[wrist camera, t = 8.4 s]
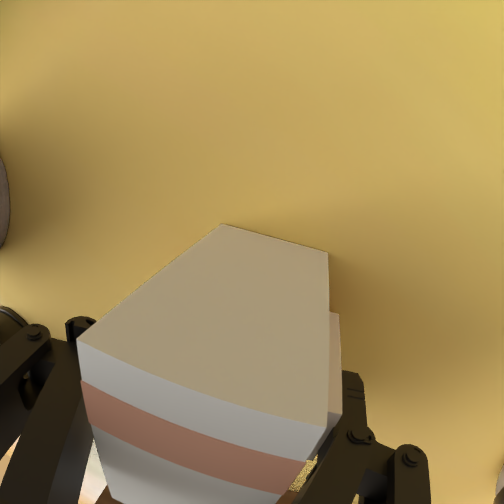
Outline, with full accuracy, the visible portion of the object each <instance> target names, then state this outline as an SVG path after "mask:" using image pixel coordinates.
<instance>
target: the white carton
mask: <svg viewBox="0 0 504 504" xmlns="http://www.w3.org/2000/svg"><path fill="white" fill-rule="evenodd" d="M329 337H330V322H329V268H328V253H327V252H324V251H320V250H317V249H313V248H310V247H306V246H302V245H299V244H295V243H292V242H288V241H284V240H281V239H277V238H273V237H270V236H266V235H262V234H259V233H255V232H251V231H247V230H244V229H240V228H236V227H233V226H229V225H225V224H220V225H219V226H218V227H216V228H215V229H214V230H212V231H211V232H210V233H208V234H207V235H206V236H204V237H203V238H202V239H200V240H199V241H198V242H196V243H195V244H194V245H193V246H191V247H190V248H189V249H187V250H186V251H185V252H183V253H182V254H181V255H180V256H178V257H177V258H176V259H174V260H173V261H172V262H171V263H169V264H168V265H167V266H165V267H164V268H163V269H162V270H160V271H159V272H158V273H156V274H155V275H154V276H153V277H151V278H150V279H149V280H148V281H146V282H145V283H144V284H143V285H141V286H140V287H139V288H138V289H136V290H135V291H134V292H133V293H131V294H130V295H129V296H128V297H126V298H125V299H124V300H123V301H121V302H120V303H119V304H118V305H116V306H115V307H114V308H113V309H112V310H110V311H109V312H108V313H107V314H105V315H104V316H103V317H102V318H101V319H99V320H98V321H97V322H96V323H95V324H93V325H92V326H91V327H90V328H88V329H87V330H86V331H85V332H84V333H83V334H81V335H80V336H79V337H78V338H77V339H76V341H77V350H78V357H79V364H80V371H81V377H82V380H81V381H80V382H81V387H82V393H83V398H84V403H85V407H86V412H87V417H88V421H89V423H90V424H91V427H92V431H93V436H94V440H95V443H96V447H97V451H98V455H99V458H100V462H101V465H102V468H103V472H104V475H105V478H106V481H107V484H108V487H109V490H110V493H111V496H112V498H114V499H116V500H118V501H120V502H122V503H124V504H276V502H277V501H278V500H279V498H280V497H281V496H282V495H284V494H285V492H286V491H287V490H288V488H289V487H290V486H291V484H292V483H293V481H294V480H295V479H296V477H297V476H298V474H299V473H300V471H301V470H302V469H303V467H304V466H305V464H306V460H307V458H308V457H309V455H310V454H311V452H312V451H313V449H314V447H315V446H316V444H317V443H318V441H319V440H320V438H321V436H322V435H323V433H324V431H325V430H326V428H327V414H328V390H329Z"/></svg>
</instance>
